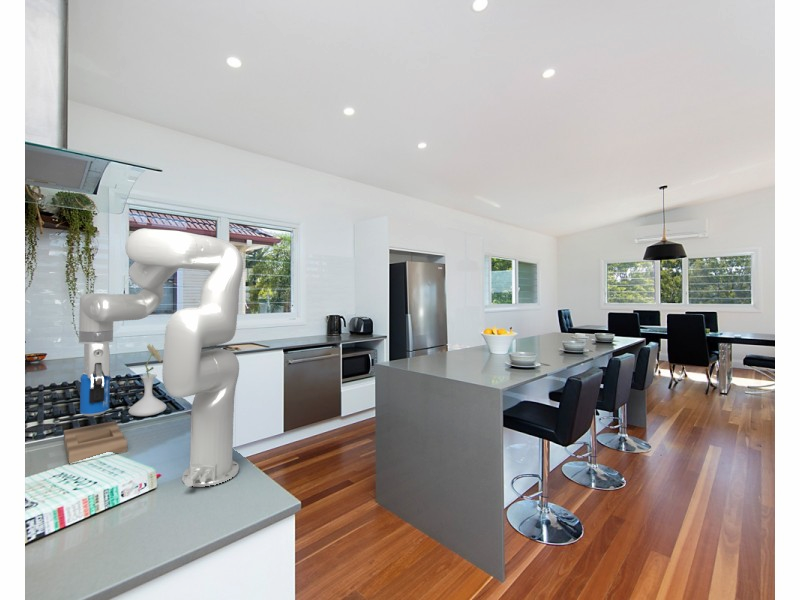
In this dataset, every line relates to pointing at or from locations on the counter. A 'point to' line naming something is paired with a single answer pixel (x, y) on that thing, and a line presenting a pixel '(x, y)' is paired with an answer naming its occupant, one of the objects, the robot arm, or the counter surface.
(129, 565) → the counter surface
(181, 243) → the robot arm
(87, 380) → the beverage can
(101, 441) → the block
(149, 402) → the flower in vase
